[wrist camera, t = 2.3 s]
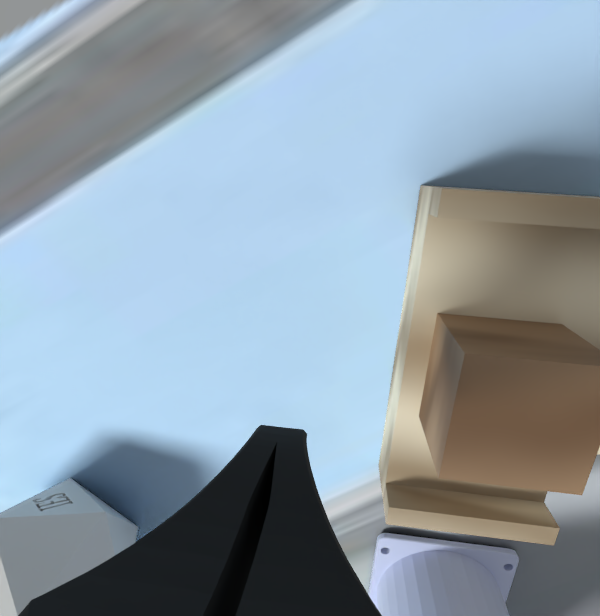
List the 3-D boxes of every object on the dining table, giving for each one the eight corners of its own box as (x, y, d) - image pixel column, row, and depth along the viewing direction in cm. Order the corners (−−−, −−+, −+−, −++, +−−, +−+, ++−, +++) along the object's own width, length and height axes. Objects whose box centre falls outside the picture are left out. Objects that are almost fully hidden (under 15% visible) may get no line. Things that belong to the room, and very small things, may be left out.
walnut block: (531, 427, 18) (582, 495, 14) (418, 415, 18) (438, 478, 15) (561, 323, 16) (627, 368, 13) (437, 313, 17) (464, 353, 13)
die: (136, 439, 24) (-92, 523, 17) (192, 593, 22) (-48, 769, 15) (98, 477, 30) (-89, 553, 22) (139, 605, 27) (-57, 738, 20)
